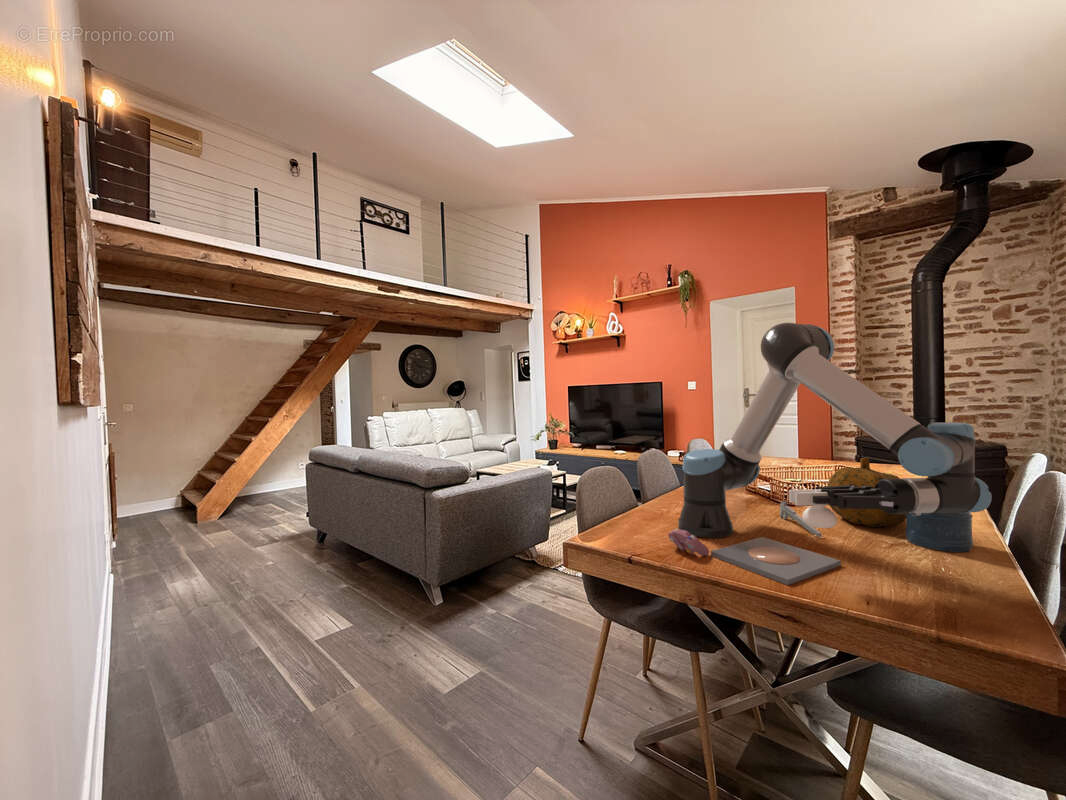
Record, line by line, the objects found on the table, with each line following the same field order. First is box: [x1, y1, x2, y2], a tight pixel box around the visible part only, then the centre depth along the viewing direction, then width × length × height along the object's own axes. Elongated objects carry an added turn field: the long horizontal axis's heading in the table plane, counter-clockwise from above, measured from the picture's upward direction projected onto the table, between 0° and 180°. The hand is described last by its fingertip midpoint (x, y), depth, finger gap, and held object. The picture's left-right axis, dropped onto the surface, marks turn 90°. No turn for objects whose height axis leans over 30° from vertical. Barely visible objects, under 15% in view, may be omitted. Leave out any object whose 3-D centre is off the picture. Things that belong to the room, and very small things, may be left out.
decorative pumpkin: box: [827, 457, 906, 528], centre depth 135 cm, size 20×21×20 cm
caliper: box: [779, 499, 824, 538], centre depth 132 cm, size 20×1×6 cm, turn 0°
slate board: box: [710, 536, 842, 586], centre depth 108 cm, size 20×20×1 cm
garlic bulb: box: [801, 489, 838, 529], centre depth 98 cm, size 6×6×8 cm
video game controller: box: [667, 528, 710, 557], centre depth 115 cm, size 10×5×7 cm, turn 24°
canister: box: [905, 513, 974, 553], centre depth 115 cm, size 13×13×18 cm
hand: (793, 497), depth 98 cm, fingers closed on garlic bulb, 2 cm apart
